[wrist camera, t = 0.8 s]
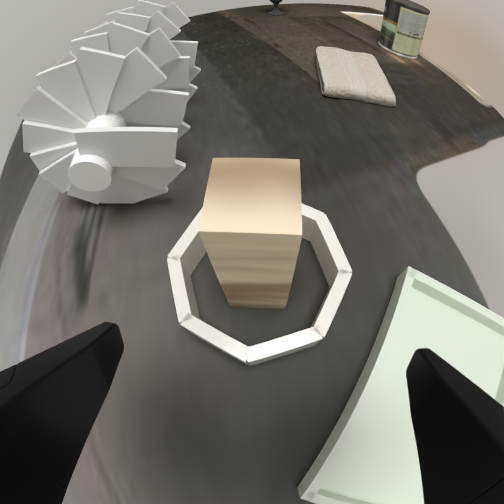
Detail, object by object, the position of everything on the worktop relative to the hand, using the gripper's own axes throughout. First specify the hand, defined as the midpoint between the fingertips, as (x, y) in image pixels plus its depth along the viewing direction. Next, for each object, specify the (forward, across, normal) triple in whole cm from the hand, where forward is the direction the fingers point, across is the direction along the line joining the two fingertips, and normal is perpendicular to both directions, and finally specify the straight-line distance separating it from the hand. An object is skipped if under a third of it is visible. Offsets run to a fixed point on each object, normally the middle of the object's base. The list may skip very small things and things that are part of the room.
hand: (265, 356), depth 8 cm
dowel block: (+15, +1, +6) cm, 17 cm away
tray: (+7, -15, +13) cm, 21 cm away
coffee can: (+60, -27, -32) cm, 73 cm away
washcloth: (+44, -11, -18) cm, 49 cm away
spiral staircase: (+28, +18, -5) cm, 34 cm away
